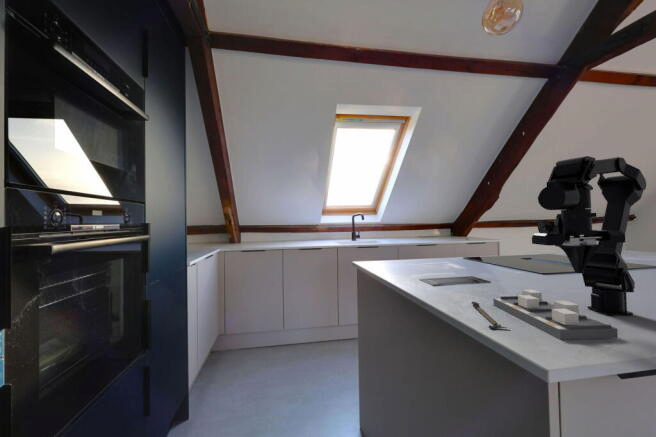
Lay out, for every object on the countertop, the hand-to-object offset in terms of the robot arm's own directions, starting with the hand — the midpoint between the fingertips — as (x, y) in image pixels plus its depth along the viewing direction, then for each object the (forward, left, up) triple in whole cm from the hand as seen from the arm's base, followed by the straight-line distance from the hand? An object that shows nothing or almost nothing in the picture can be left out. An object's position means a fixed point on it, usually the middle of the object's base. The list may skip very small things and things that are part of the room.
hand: (578, 272), depth 72 cm
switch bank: (+7, -2, -12) cm, 14 cm away
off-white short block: (+9, +7, -10) cm, 15 cm away
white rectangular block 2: (+4, +1, -10) cm, 10 cm away
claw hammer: (+19, -6, -13) cm, 23 cm away
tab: (+9, -5, -9) cm, 14 cm away
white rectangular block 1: (+4, -11, -10) cm, 15 cm away
